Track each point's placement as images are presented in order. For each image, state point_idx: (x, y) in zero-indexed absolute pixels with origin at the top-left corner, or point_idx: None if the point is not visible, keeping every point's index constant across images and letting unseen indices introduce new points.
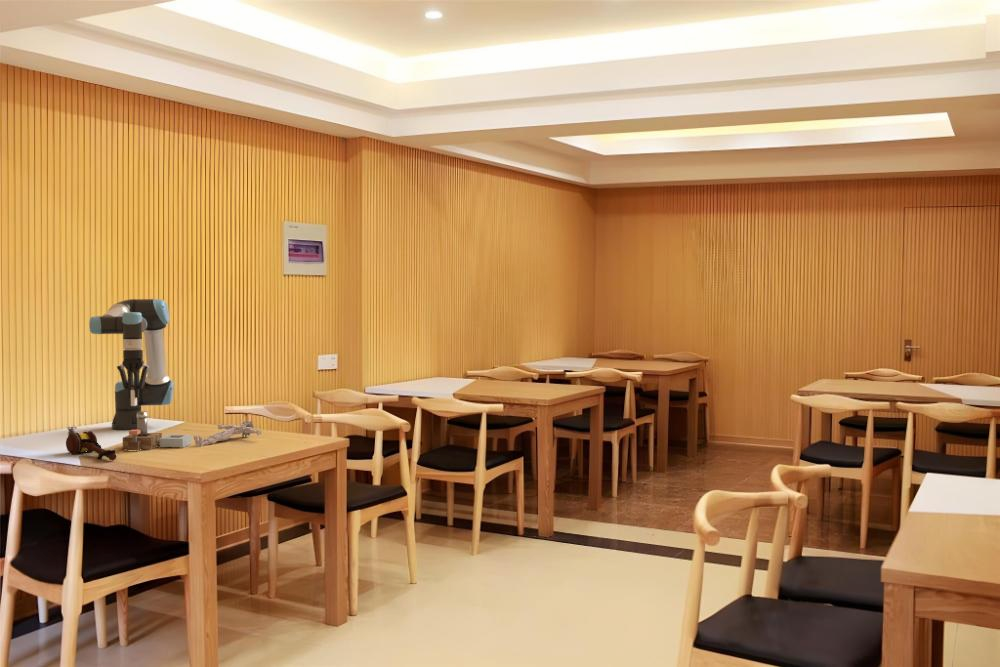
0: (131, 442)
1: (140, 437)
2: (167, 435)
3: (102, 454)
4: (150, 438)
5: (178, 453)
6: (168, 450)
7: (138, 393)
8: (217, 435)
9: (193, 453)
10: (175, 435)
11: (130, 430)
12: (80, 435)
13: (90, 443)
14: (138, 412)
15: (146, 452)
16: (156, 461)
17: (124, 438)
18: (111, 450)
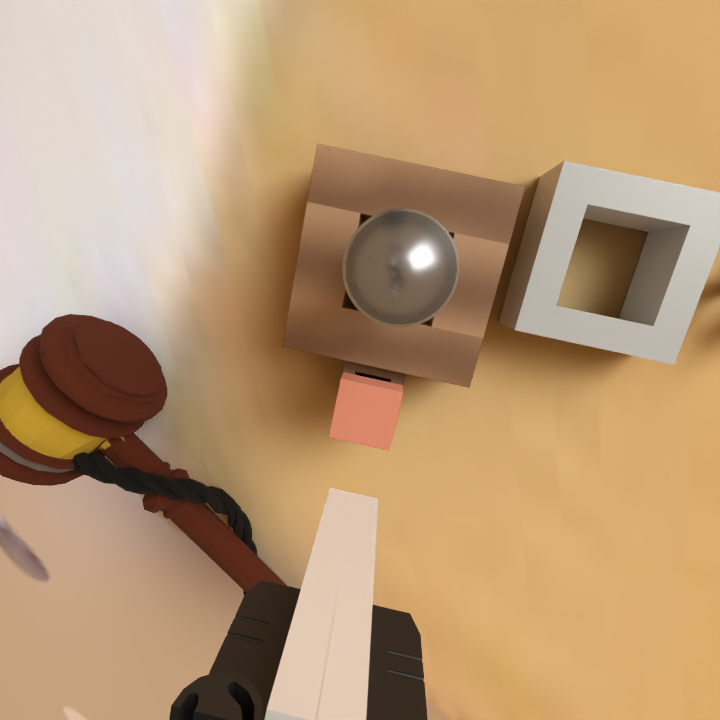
0: None
1: (397, 358)
2: (561, 207)
3: None
4: (465, 386)
5: (613, 507)
6: (555, 412)
7: (415, 706)
8: None
9: (693, 524)
10: (619, 210)
11: (335, 412)
12: (39, 445)
13: (149, 507)
14: (363, 283)
15: (442, 445)
16: (518, 668)
17: (295, 348)
18: None
